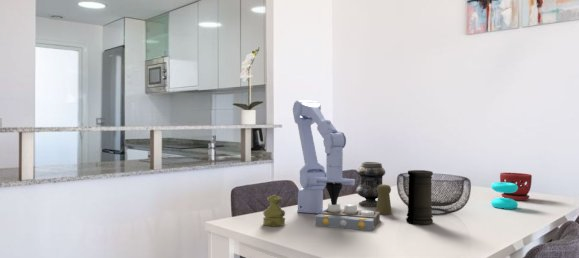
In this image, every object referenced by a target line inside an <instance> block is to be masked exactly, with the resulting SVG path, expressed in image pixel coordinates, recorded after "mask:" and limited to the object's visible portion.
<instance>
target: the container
mask: <svg viewBox="0 0 579 258" xmlns="http://www.w3.org/2000/svg"><path fill="white" fill-rule="evenodd" d="M407 174H408V182H407V184H408V192H407V193H408V194H407V195H408V196H407V197H408V199H407V200H408V201H407V214H406V216H407V217H406V218H405V220H406V223H407V224H411V225H416V226H429V225H433V223H434V220H433V217H434V216H433V214H432V213H433V212H432V211H433V210H432V209H433V207H432V185H433V184H432V183H433V182H432V179H433V177H432V176H433V174H434V173H433V171H431V170H425V169H424V170H422V169H412V170H411V169H410V170H408V171H407Z"/></svg>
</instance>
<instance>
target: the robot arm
mask: <svg viewBox="0 0 579 258" xmlns="http://www.w3.org/2000/svg"><path fill="white" fill-rule="evenodd" d="M321 109H322V107H321V104H320V102H319V101H318V100H298V99H297V100H295V101H294V103H293V106H292V115H293V119H294V123H295V124H296V125H297V129H298V135H299V140H300V146H301V149H302V156H303V160H304V165H303V166H302V167H301V169H300V170H299V183H300V186H301V187H300V188H299V189H298V193H297V210H296V212H297V213H308V214H317V215H319V214H321V212H323V211H324V210H326V209H327V208H324V189H325V188H326V191H327V193H328V195H329V198H330V203H331V204H332V205H336V204H337V203H338V199H339V195H340V192H341V190H342V188H343V185H346V186H348V185H349V186H355V185H356V180H355V178H344V177H343V156H344V155H343V153H344V152H343V149H344V148H345V147H346V144H347V138H346V135H345V132H342V131H338V130H337V129H336V127H335V126H334V124H333V123H332V121H331V120H329V119H325V118H326V117H324V114H323V113H322V110H321ZM314 124H316V125H317V127H316V130H317V131H318V133H319V134H320V135H321V137H322V139H323V146H324V152H325V154H326V162H325V163H326V167H324V165H321V164H320V163H319V162H318V157H317V152H316V148H315V147H316V145H315V142H314V137H313V132H312V127H311V126H312V125H314ZM325 169H326V170H325Z"/></svg>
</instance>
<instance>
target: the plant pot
mask: <svg viewBox="0 0 579 258" xmlns="http://www.w3.org/2000/svg"><path fill="white" fill-rule="evenodd" d="M532 177H533V175H532V174H529V173H522V172H521V173H520V172H500V173H499V180H500V181H499V182H505V183H513V184H516V185H517V186H518V190H517V191H516V192H513V193H501V194H500V195H501V196H502V197H501V198H503V197H504V198H509V199H513V200H515V201H516V200H518V201H526V199H527V200H529V199H530V195H528V194H529V192H530V191H531V188H532V180H533V179H532Z"/></svg>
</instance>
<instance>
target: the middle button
mask: <svg viewBox="0 0 579 258" xmlns="http://www.w3.org/2000/svg"><path fill="white" fill-rule="evenodd" d="M343 209H344V213H345V214H357V210H358V205H357V204H352V203H347V204H344V207H343Z"/></svg>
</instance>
